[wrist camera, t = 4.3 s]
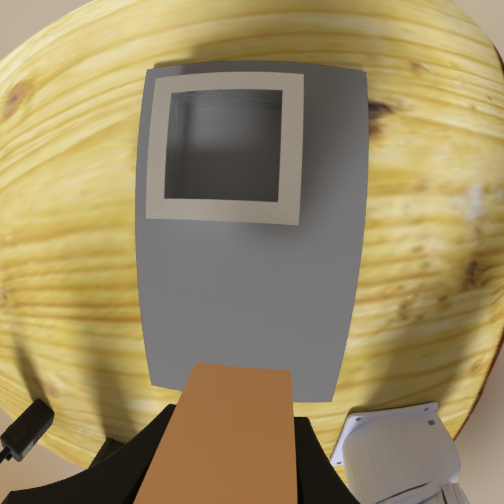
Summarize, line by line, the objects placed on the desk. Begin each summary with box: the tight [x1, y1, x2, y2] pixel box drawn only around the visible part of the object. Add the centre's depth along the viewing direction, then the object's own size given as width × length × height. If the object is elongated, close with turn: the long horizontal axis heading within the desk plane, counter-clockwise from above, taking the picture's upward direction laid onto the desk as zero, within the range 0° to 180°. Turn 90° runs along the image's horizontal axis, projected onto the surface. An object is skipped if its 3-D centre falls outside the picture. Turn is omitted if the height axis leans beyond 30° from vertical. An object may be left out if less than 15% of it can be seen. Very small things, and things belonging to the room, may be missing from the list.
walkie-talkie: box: [0, 399, 54, 463], centre depth 16 cm, size 5×3×15 cm
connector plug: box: [133, 362, 297, 504], centre depth 6 cm, size 4×4×9 cm
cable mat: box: [135, 61, 369, 402], centre depth 17 cm, size 14×23×1 cm, turn 177°
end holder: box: [146, 72, 304, 225], centre depth 14 cm, size 8×8×3 cm
